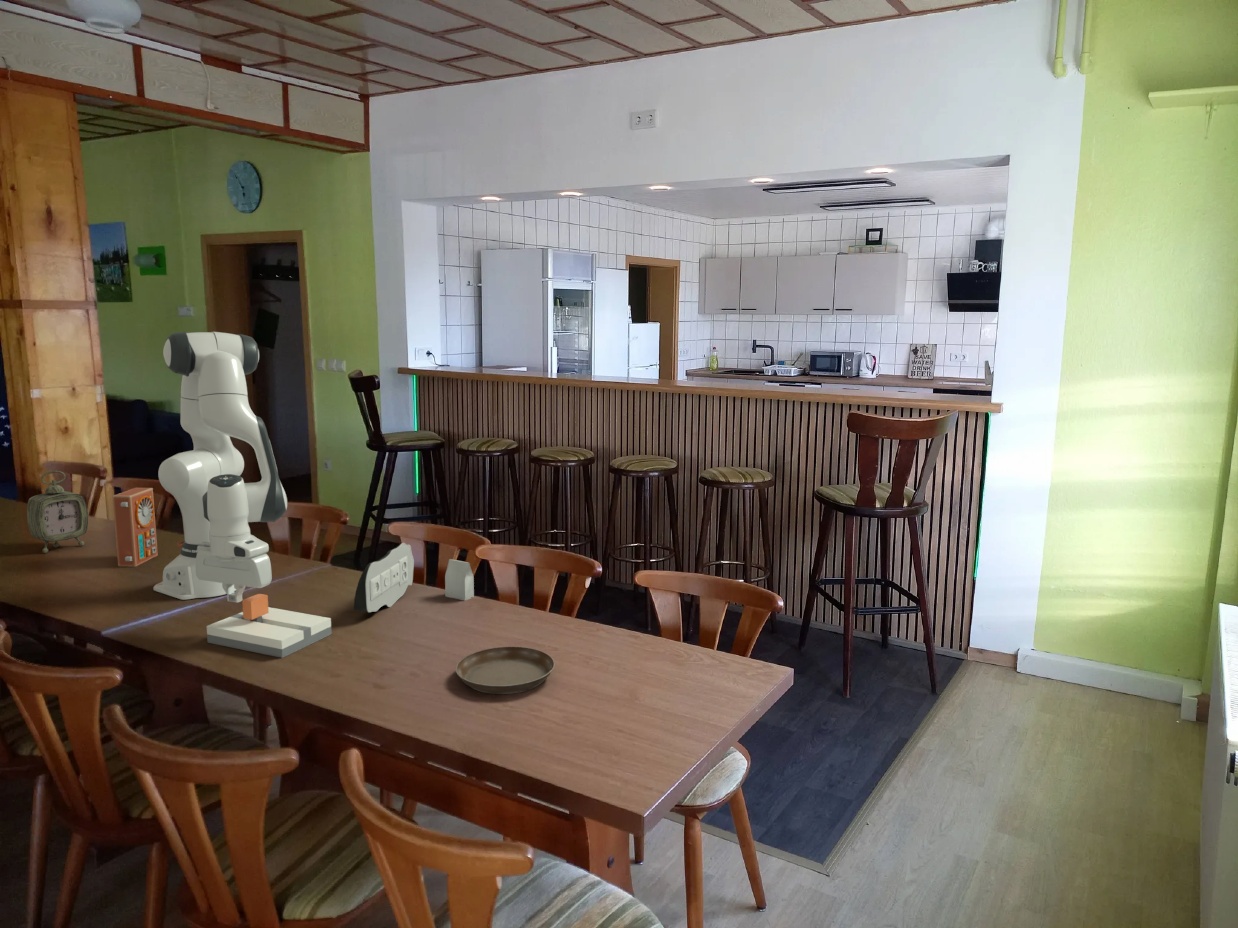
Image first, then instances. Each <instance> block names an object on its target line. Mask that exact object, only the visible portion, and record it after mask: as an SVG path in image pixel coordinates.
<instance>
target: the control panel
mask: <svg viewBox="0 0 1238 928" xmlns="http://www.w3.org/2000/svg"><path fill="white" fill-rule="evenodd" d="M153 490H154V488H153V487H133V488H131V489H127V490H126V491H123V492H120V493H117V494H114V495H112V506H113V509H112V510H113V517H114V519H113V520H114V530H115V532H114V533H115V543H116V546H115V547H116V555H117V556H116V557H117V566H118V567H125V568H126V567H131V568H132V567H133V568H135V567H139V566H140V565H142V564H144V563H146V562H147V561H149V560H152V559H153V558H156V557H158V541H157V529H156V516H155V512H156V511H155V500H154V491H153Z"/></svg>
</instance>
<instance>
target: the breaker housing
mask: <svg viewBox="0 0 1238 928" xmlns="http://www.w3.org/2000/svg"><path fill="white" fill-rule="evenodd" d="M268 611H269V613H267V614H265V615H262V623H260V622H254V621H250V619H245V618H243V611H241V612H238V613H236V614H233V615H230V616H229V617H228V616H227V617H226V618H224V619H221V620H219V621H215V622H213V623H211V624H208V625H206V635H207V637H206V638H207V639H206V640H207V643H209V644H213V645H217V646H223V647H227V648H233V649H238V650H243V651H247V652H252V653H256V654H262V655H267V656H272V657H276V658H280V659H281V658H282V659H283V658H285V657H287V656H289V655H291V654H294V653H296V652H297V651H300V650H301V649H304V648H306V647H308V646H310V645H312V644H314V643H317V642H319V641H321V640H322V639H325V638H326V637H327V638H328V637H329V636H330V635H332V618H331V617H325V616H320V615H315V614H309V613H303V612H298V611H291V610H287V609H282V608H276V607H270V606H268Z"/></svg>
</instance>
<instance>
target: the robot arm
mask: <svg viewBox="0 0 1238 928" xmlns="http://www.w3.org/2000/svg"><path fill="white" fill-rule="evenodd" d="M162 354H163V358H164V361H165V364H166V367H167V368H168V370H170V371H171V372H172V373H174V374H178V375H180V376H181V375H182V376H181V377H182V378H181V384H180V385H181V387H180V425H181V426H180V427H182V429H183V431H185V432H186V433H188V434H189V435H190V437H191V439H192V443H193V450H187V451H183V452H178V453H176V454H174V455H172V456H170V457H168V458H166V459H165V460H163V461H162V462H161V464H160V465H159V468H158V476H157V477H158V480H159V484H161V486H162V488H163V489H164V490H165V492H168V493H169V494H171V495H172V496H173V497H174V499H175V500H176V502H177V505H178V506H179V509H180V513H181V516H182V525H183V535H184V540H183V541H181V542H177V543H176V544H177V548H180V554H179V555H178V556H176V557H175V558H174V559H173V560H171V561H170V562H169V563H168V564H167V565H165V567H164V568H163V571H162V581H159V583H156V584H155V585H154V586H153V587H152V589H153V591H154V592H158V593H160V594H164V595H167V596H169V597H172V598H175V599H176V598H177V599H179V600H181V601H182V600H191V599H200V598H201V599H202V598H203V599H204V598H213V597H219V596H224V595H226V596H227V597H226V600H227V602H231V603H240V602H242V600H243V593H244V592H245V589H246V587H248V588H255V589H256V588H257V589H261V588H264V587H267V586H270V584H271V582H272V580H273V579H272V578H273V576H272V574H273V573H272V565H271V560H270V557H269V555H268V554H267V553H268V552H269V550H270V547H269V544H268V543H267V542H265V541H263V540H261V539H259V538H257V537H256V536H255V535H253V534H251V528H250V525H249V523H254V522H255V523H258V522H260V523H275V522H277V521H278V520H279V519H281V518H282V517H283V516H284V515H285V514H286V513H287V509H288V497H287V494H286V491H285V489H284V487H283V484H282V482H281V480H280V476H279V471H278V467H277V464H276V463H277V462H276V459H275V456H274V452H273V447H272V444H271V440H270V438H269V435H268V430H267V427H266V424H265V422H264V420H263V419H262V417H260V416H259V415H258V416H257V415H255V413H254V412H253V410H252V409H251V406H250V403H249V396H248V386H247V380H246V376H248V375H250V374H252V373H253V372H254V371H256V370H257V368H258V363H259V362H260V361H259V360H260V350H259V347H258V343H257V342H256V341H255V339H254V337H252V336H248V335H247V334H246V335H245V334H242V333H238V334H234V333H228V332H220V331H211V332H207V331H206V332H205V331H204V332H203V331H201V332H200V331H199V332H196V331H195V332H194V331H193V332H186V331H178V332H174V333H171V334H169V336H167V338H166V341H165V343H164V346H163V353H162ZM231 437H232V438H235V439H238V440H241V441H244V442H246V443H247V444H249V445H250V446H251V447H252V448H253V449H254V453H255V456H256V459H257V463H258V468H259V471H260V472H259V473H260V475H261V480H260V481H257V482H245V481H244V478H243V477H241V475H242V473H243V471H244V468H245V460H244V456H243V455H242V453H241V452H240V451H239V450H238V449H237V448H236V447H235V446H234V445H233V442H232V440H231Z"/></svg>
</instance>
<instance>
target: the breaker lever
mask: <svg viewBox="0 0 1238 928" xmlns="http://www.w3.org/2000/svg"><path fill="white" fill-rule="evenodd" d="M241 602H242V603H241V604H242V612H243V618H245V619H250V621H254V622H260V623H262V615H265V614H267V613H269V611H268V607H269V596H268V594H265V593H264V594H263V593H257V594H254V595H252V596H249V597H246V598H242V601H241Z"/></svg>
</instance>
